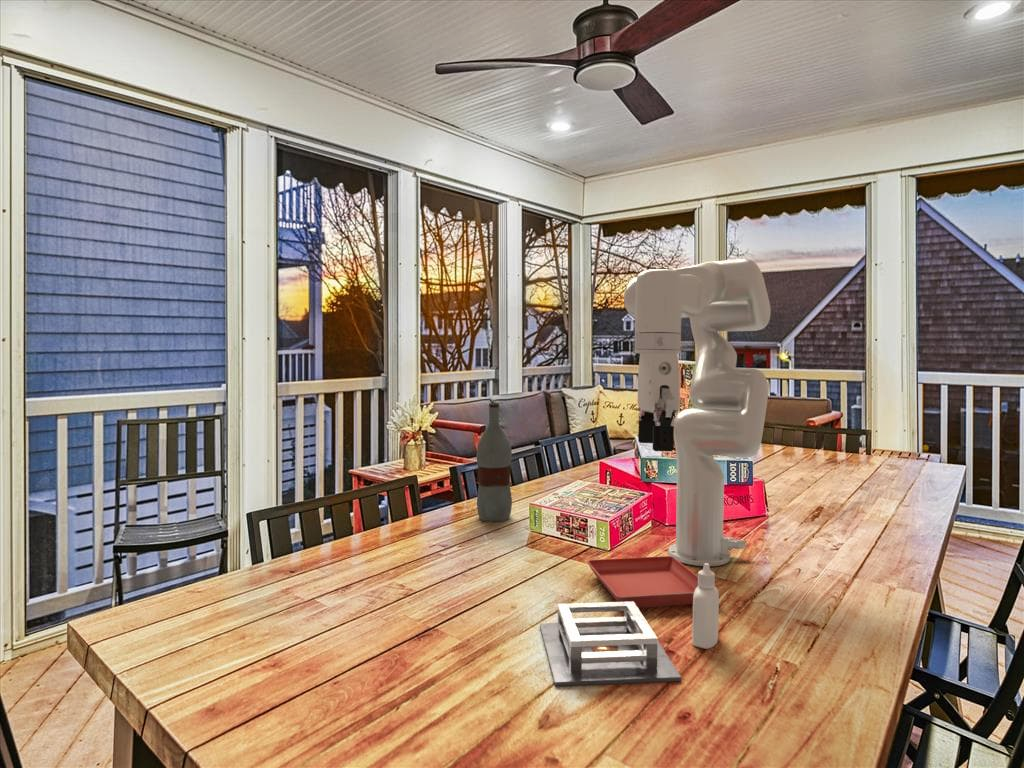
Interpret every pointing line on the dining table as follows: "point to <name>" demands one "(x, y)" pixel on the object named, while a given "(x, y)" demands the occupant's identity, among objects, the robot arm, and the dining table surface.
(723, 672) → the dining table surface
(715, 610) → the eye dropper bottle
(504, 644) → the dining table surface
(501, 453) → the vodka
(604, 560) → the plant saucer
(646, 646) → the collar stand
